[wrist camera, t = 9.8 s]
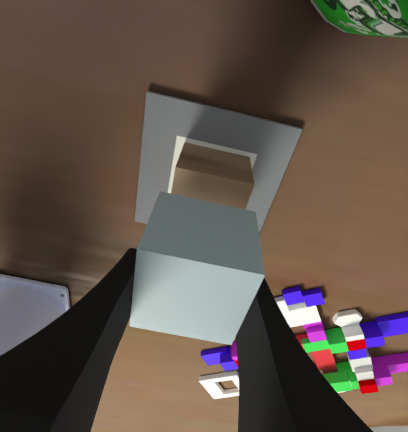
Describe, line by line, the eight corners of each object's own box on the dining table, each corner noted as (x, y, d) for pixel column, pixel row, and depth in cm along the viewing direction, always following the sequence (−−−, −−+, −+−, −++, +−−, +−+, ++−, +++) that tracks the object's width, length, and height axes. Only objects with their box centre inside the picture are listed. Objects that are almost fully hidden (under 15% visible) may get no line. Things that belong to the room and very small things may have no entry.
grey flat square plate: (253, 243, 24) (253, 246, 23) (135, 218, 23) (134, 221, 23) (301, 127, 18) (302, 129, 18) (147, 90, 18) (146, 91, 17)
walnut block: (232, 210, 22) (233, 244, 18) (174, 198, 21) (165, 230, 18) (249, 156, 19) (254, 184, 16) (184, 142, 19) (175, 166, 15)
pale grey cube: (230, 277, 16) (231, 345, 12) (150, 261, 15) (129, 326, 12) (255, 211, 13) (264, 275, 10) (160, 190, 13) (136, 249, 10)
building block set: (403, 256, 24) (435, 298, 21) (412, 374, 34) (435, 417, 31) (153, 315, 31) (143, 354, 27) (221, 399, 41) (221, 436, 37)
